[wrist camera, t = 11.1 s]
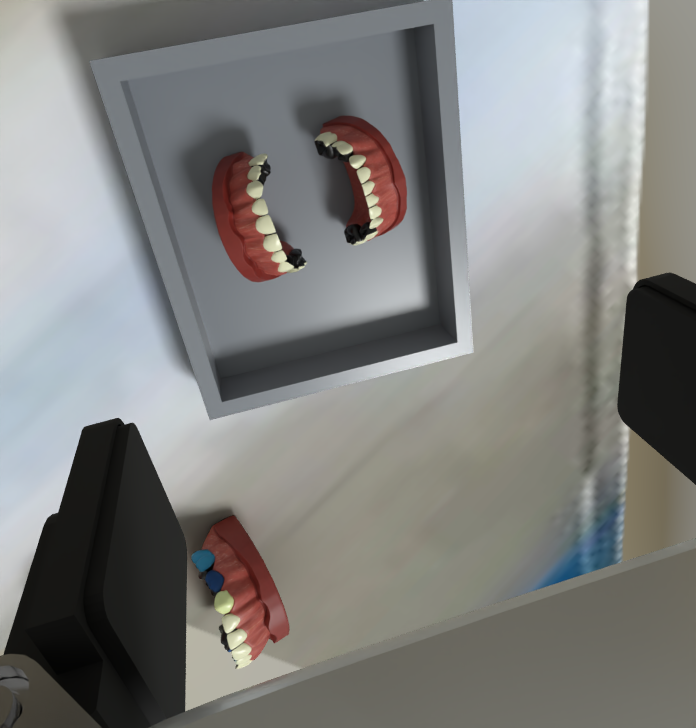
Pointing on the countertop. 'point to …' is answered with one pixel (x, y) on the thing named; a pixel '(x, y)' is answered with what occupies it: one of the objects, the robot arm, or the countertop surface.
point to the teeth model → (241, 591)
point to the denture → (245, 208)
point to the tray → (301, 198)
